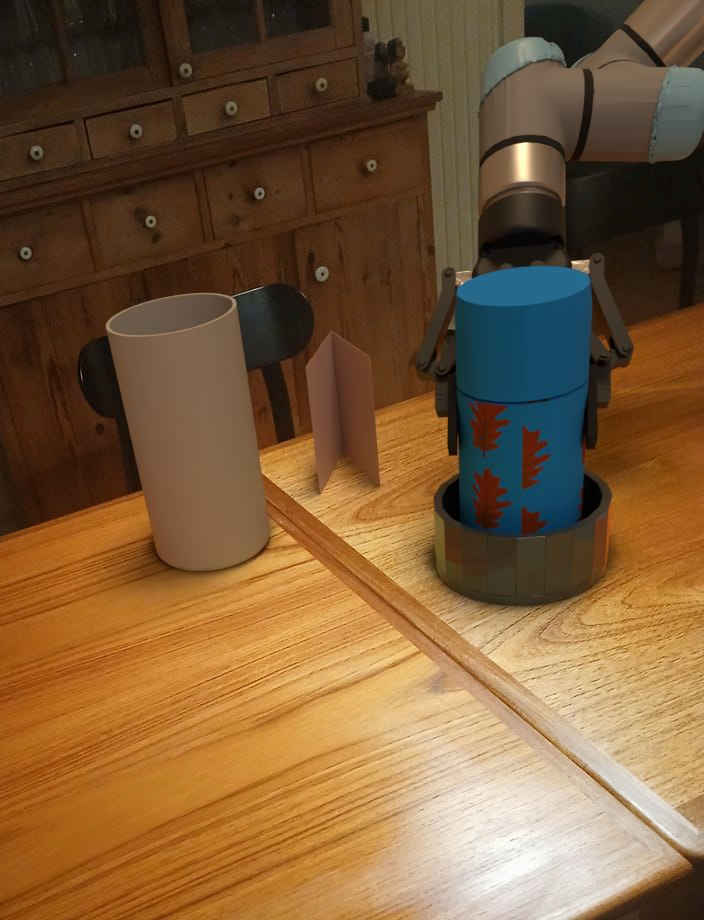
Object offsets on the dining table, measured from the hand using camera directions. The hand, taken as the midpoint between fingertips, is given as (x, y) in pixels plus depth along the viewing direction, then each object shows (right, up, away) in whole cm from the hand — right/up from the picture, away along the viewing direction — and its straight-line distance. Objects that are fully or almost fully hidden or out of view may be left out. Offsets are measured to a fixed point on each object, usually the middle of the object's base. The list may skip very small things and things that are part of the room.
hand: (520, 447), depth 85 cm
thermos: (+3, -8, +9) cm, 13 cm away
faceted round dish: (+3, -9, +10) cm, 14 cm away
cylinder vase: (-27, -6, +22) cm, 35 cm away
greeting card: (-10, +3, +31) cm, 33 cm away
